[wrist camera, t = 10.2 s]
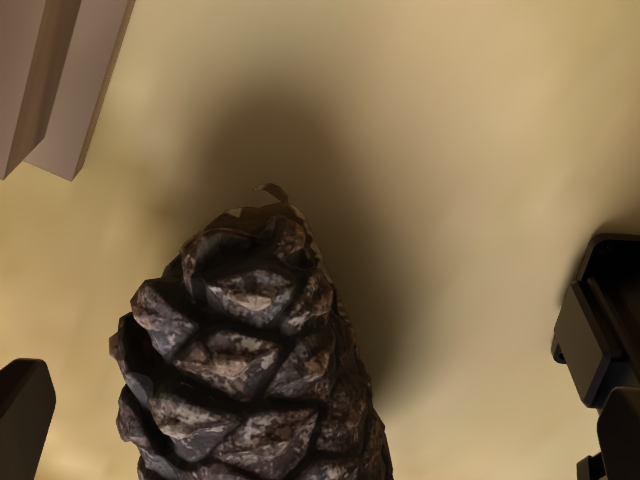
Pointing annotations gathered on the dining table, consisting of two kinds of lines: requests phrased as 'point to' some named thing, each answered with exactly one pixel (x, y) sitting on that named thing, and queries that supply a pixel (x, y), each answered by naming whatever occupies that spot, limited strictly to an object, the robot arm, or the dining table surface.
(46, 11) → the socket block
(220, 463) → the pine cone
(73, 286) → the dining table surface
